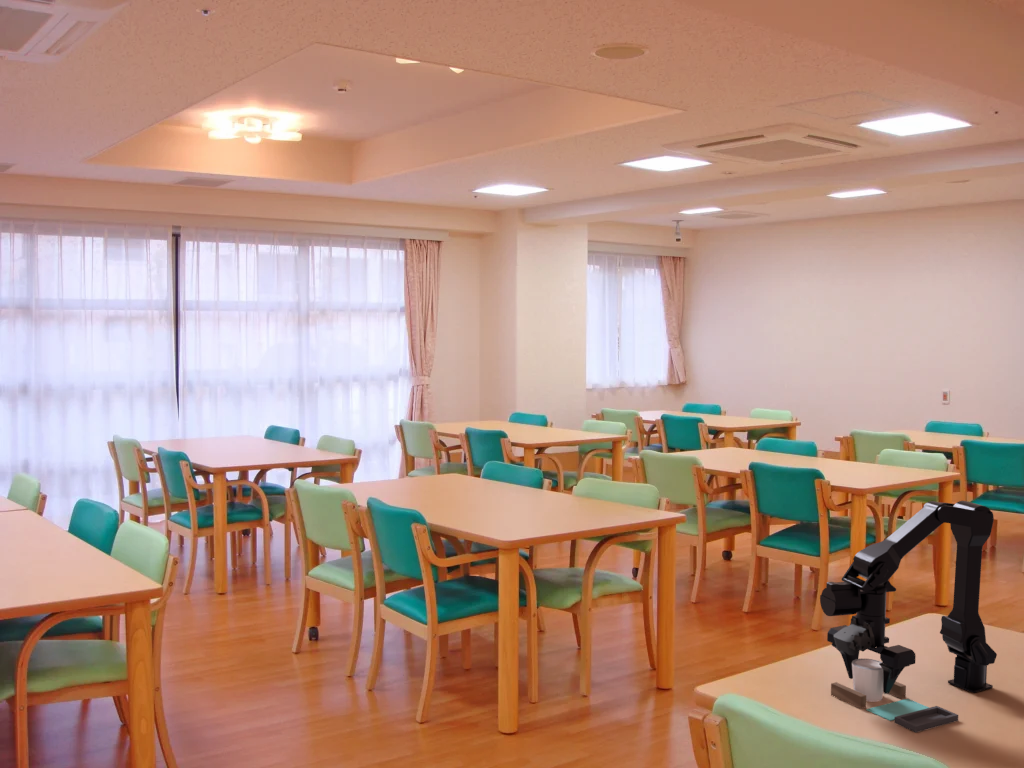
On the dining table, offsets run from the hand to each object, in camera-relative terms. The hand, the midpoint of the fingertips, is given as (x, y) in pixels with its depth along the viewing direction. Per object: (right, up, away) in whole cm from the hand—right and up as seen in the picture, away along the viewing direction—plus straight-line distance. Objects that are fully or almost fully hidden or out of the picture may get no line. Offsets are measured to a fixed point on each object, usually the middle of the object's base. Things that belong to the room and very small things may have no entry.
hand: (868, 685), depth 204 cm
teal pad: (+4, -3, -7) cm, 8 cm away
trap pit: (+7, -3, -13) cm, 15 cm away
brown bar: (0, -2, 0) cm, 2 cm away
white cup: (0, -3, 0) cm, 3 cm away
